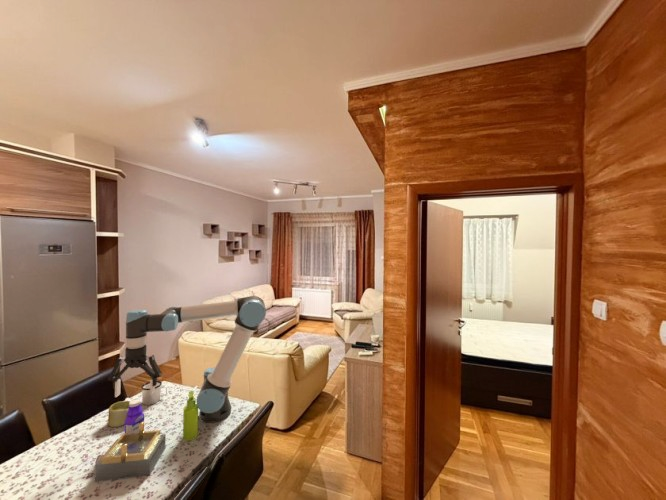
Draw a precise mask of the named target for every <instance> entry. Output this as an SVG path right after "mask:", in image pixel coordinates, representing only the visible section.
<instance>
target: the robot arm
mask: <svg viewBox="0 0 666 500" xmlns="http://www.w3.org/2000/svg"><path fill="white" fill-rule="evenodd" d="M266 314H267V308H266V305H265V302H264V300H263V299H262V298H261V297H259V296H256V295H250V296H245V297H237V298H236V299H235V300H230V301H229V300H228V301H221V302H213V303H212V302H211V303H204V304H196V305H195V304H194V305H187V306H186V305H185V306H180V307H178V306H171V307H168V308H166V309H165V310H164V311H162V312H161V313H157V314H156V313H155V314H148V311H147V310H146V309H132V310H130V311H128V312H127V313H126V318H125V351H124V353H125V354H124V355H125V357H123V356H120V357H119V358H117V359H116V362H115V366H114V367H113V369H112V371H111V372H110V374H109V376H108V377H107V381H110V382H111V381H112V389H113V390H114V398H117V397H118V396H120V395H121V382H122V380H121V376H123V374H125V372H126V371H127V370H128V369H129V368H130V369H134V368H136V369H138V368H140V369H142V370H143V371H144V372H145V373H146V374H147V375H148V376H149V377H150V378H151V379H150V380H149V382H150V395H152V394H153V393H154V392H155V386H156V384H157V381H158V378H160V377H161V376H162V375H163V373H162V371H161V369H160V367H159V365H158V363H157V362H156V358H155V355H154V354H153V355H150V356H147V341H148V340H147V339H148V338H147V335H148V333H154V332H172V331H175V330H176V329H177V328H178V324H180V323H187V322H193V321H194V322H195V321H201V320H209V319H218V318H224V317H234V316H235V319H234V325H235V327H234V329H233V331H232V332H231V335H230V337H229V339H228V341H227V343H226V345H225V347H224V349H223V351H222V353H221V355H220V358H219V360H218V362H217V363H216V366H213V367H210V368H207V369H206V370H204V372H203V383H202V385H201V388H200V390H199V393H198V395H197V397H196V404H197V406H198V419H199V420H200V421H202V422H204V423H216V422H220V421H222V420H224V419H226V418H228V416H230V414H231V412H232V404H231V401H230V399H229V389H230V388H231V386H232V380H231V378H232V377H233V374H234V372H235V371H236V368H237V366H238V363H239V362H240V360H241V358H242V355H243V354H244V351H245V350H246V348H247V345H248V343H249V341H250V338H251V337H252V335H253V333H255V332H257V331H258V329H259V328H260V325H261V324H262V323H263V321H264V320H265V318H266ZM122 363H125V364H126V365H124V367H123V368H122V369H121V370H120V371H119V369H120V368H121V366H122ZM118 371H119V372H118ZM117 372H118V373H117ZM116 374H117V375H116Z"/></svg>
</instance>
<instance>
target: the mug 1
mask: <svg viewBox="0 0 666 500" xmlns="http://www.w3.org/2000/svg"><path fill="white" fill-rule="evenodd" d="M130 402H131V400H130V401H129V400H124V401H123V400H122V401H117V402H115V403H113V404H110V406H109V407H108V417H107V418H108V419H107V424H108V426H109V427H111V428H118V427H122V426H125V420H126V417H127V412H128V410H129V403H130Z"/></svg>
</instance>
